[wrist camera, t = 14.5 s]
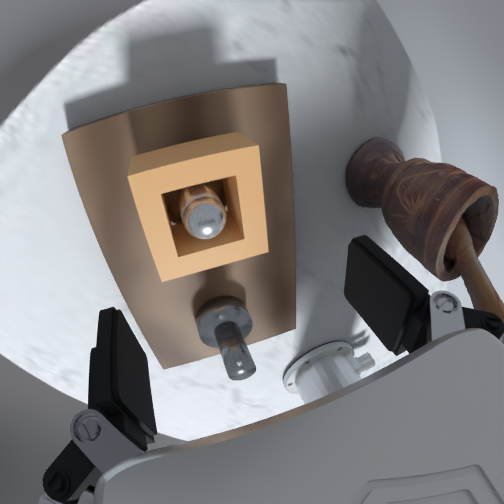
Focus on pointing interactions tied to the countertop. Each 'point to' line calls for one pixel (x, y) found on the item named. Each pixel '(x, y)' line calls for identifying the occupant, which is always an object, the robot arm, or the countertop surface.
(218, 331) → the shiny metal knob
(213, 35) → the countertop surface
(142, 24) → the countertop surface
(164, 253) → the collar
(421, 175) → the mortar and pestle
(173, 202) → the silver round flared piece
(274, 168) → the board
